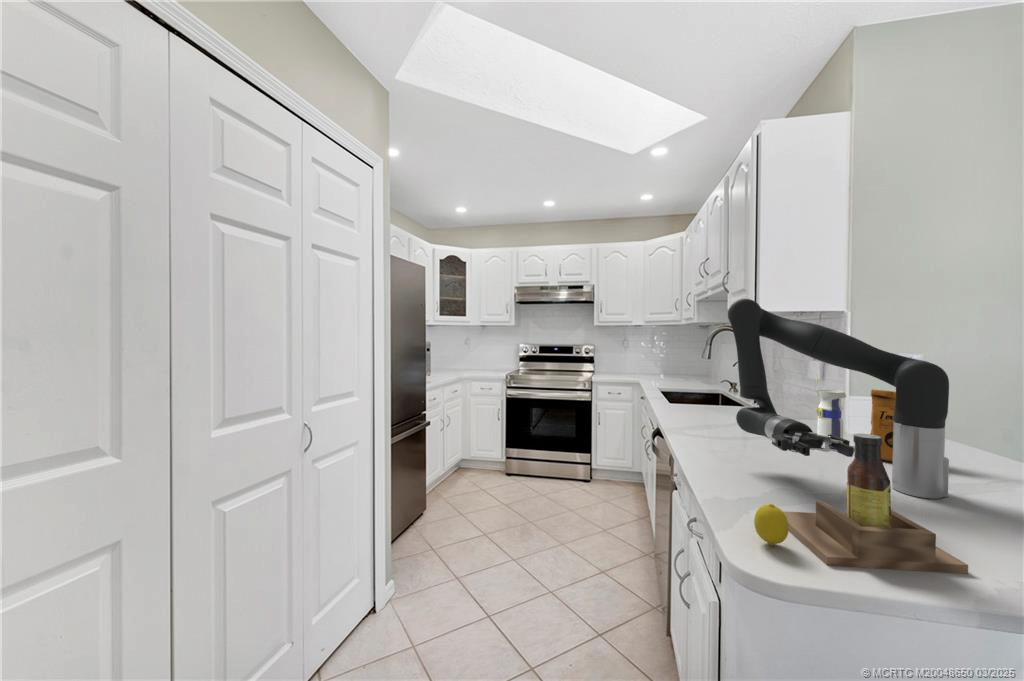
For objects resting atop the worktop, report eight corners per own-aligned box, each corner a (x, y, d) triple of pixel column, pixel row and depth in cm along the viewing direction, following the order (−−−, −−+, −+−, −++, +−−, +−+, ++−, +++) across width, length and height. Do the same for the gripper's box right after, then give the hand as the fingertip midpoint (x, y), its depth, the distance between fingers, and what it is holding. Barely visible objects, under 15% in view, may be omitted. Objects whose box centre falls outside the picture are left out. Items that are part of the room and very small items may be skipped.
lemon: (747, 538, 81) (748, 498, 80) (773, 537, 81) (774, 497, 81) (767, 553, 75) (768, 511, 75) (795, 552, 76) (796, 509, 75)
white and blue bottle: (823, 448, 140) (825, 376, 140) (810, 441, 149) (811, 373, 148) (850, 449, 139) (852, 376, 138) (835, 442, 147) (836, 373, 147)
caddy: (884, 523, 87) (884, 492, 86) (968, 573, 69) (969, 535, 69) (773, 517, 89) (774, 488, 89) (826, 565, 71) (827, 528, 71)
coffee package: (923, 469, 119) (925, 394, 118) (867, 460, 128) (868, 390, 127) (922, 461, 126) (924, 391, 126) (869, 453, 135) (870, 387, 134)
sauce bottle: (899, 551, 73) (902, 441, 72) (859, 548, 74) (861, 440, 74) (875, 533, 79) (877, 432, 79) (838, 530, 81) (840, 431, 80)
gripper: (758, 418, 105) (794, 434, 89) (818, 418, 103) (865, 435, 87) (758, 447, 105) (794, 468, 89) (817, 448, 103) (865, 470, 87)
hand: (829, 451), depth 88 cm, fingers open, 8 cm apart
